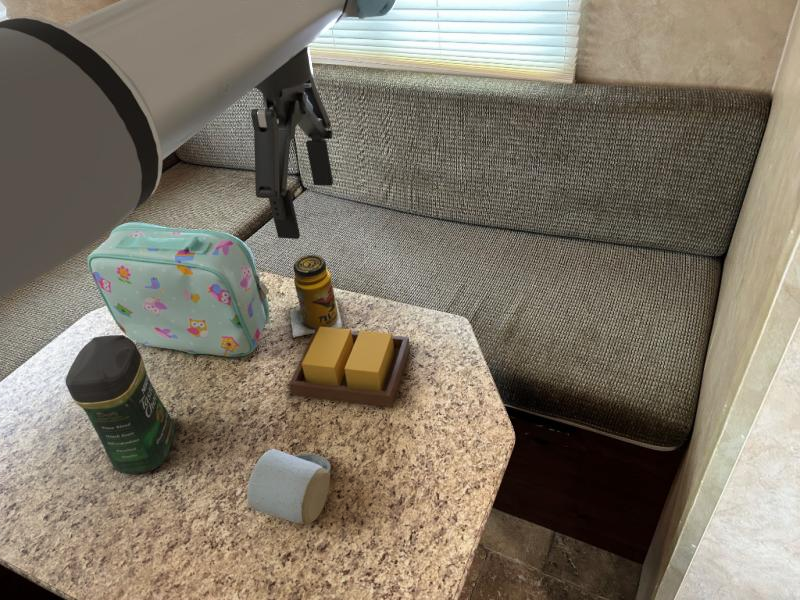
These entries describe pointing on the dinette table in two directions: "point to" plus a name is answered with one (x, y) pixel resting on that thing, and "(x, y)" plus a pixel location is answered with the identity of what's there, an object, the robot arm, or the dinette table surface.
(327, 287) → the condiment
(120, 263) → the lunch box
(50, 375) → the dinette table surface
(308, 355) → the pad loose
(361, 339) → the pad seated
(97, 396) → the coffee jar
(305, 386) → the frame
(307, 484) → the ceramic mug
